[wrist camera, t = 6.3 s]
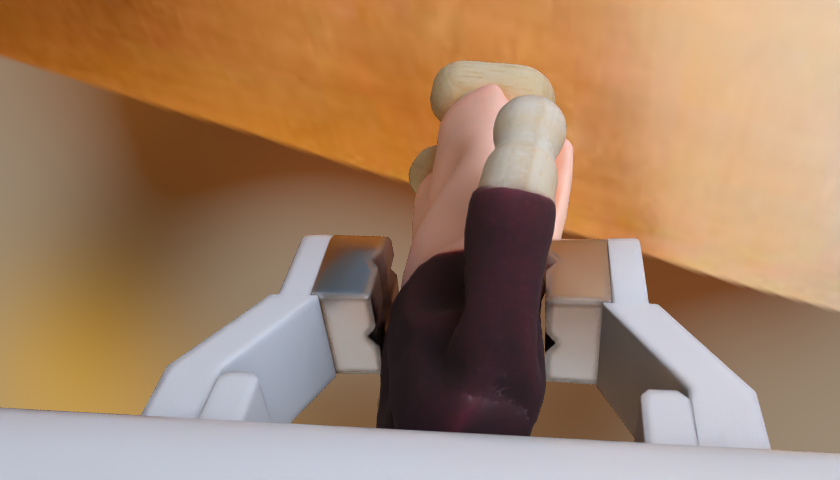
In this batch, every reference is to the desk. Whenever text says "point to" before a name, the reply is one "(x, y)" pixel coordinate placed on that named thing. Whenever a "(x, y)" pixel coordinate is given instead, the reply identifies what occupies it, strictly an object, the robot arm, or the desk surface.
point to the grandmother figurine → (478, 256)
